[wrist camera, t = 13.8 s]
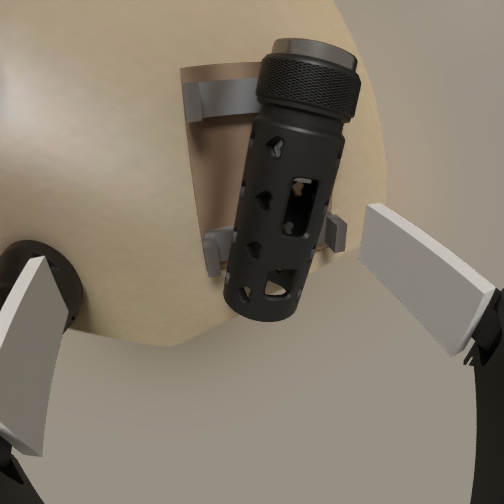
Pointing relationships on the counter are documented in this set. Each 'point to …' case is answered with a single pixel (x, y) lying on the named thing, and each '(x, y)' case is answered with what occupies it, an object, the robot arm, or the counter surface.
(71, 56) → the counter surface
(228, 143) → the mounting board
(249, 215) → the muzzle brake
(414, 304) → the robot arm
